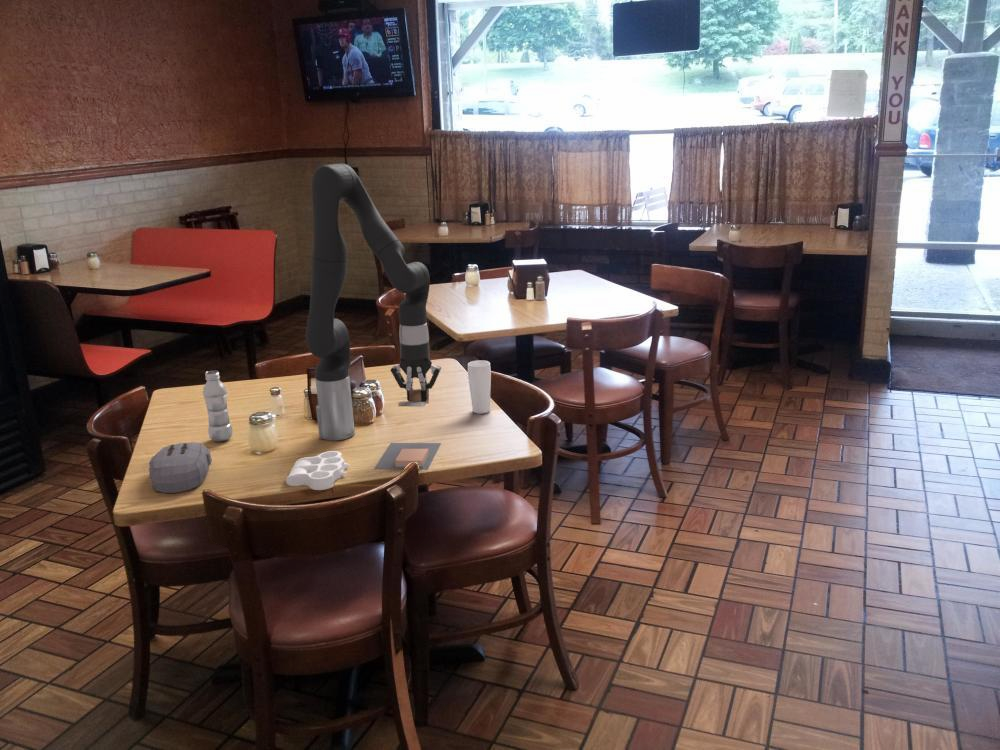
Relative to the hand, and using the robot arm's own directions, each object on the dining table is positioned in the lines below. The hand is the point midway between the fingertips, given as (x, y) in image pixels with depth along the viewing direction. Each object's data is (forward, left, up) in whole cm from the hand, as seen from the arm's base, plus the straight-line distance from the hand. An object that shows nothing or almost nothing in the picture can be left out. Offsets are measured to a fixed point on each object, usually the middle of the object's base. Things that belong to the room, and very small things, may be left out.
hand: (417, 402), depth 235 cm
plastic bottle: (-59, +4, -13) cm, 60 cm away
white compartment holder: (-22, -20, -13) cm, 32 cm away
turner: (0, -1, 0) cm, 1 cm away
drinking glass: (+12, +28, -13) cm, 34 cm away
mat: (-2, -8, -13) cm, 15 cm away
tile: (0, -8, -10) cm, 13 cm away
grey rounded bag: (-57, -23, -13) cm, 63 cm away
